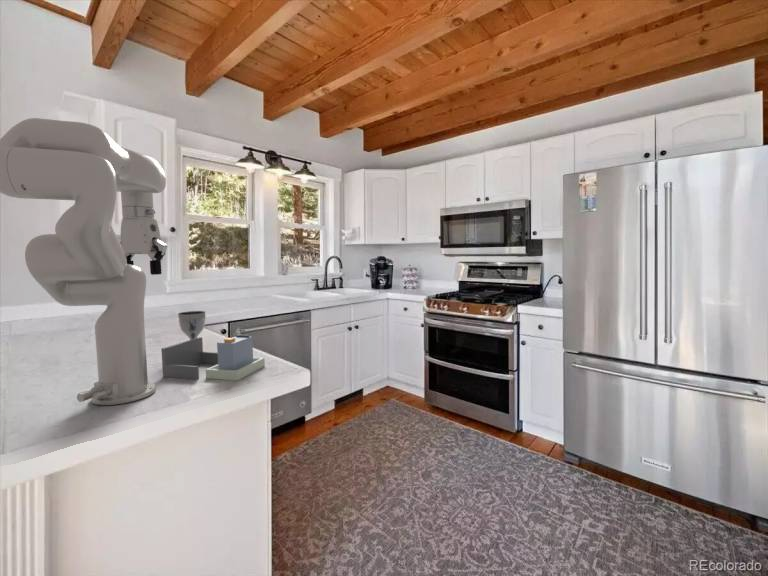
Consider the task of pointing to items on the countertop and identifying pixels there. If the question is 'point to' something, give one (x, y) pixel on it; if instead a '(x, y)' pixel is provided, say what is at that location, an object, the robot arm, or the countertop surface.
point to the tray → (235, 371)
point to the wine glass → (192, 323)
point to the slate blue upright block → (235, 352)
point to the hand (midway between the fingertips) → (142, 274)
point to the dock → (186, 359)
